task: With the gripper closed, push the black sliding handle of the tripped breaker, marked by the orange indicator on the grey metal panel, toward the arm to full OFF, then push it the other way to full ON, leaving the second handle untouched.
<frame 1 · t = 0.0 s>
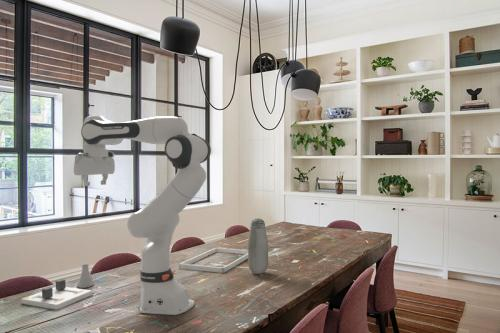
hand: (95, 185, 165), 48 cm above the table, fingers open, 8 cm apart
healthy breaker: (60, 284, 168), point 4 cm above the table, slide at 8.0 cm
tripped breaker: (47, 292, 158), point 4 cm above the table, slide at 4.0 cm
flask: (85, 286, 180), on the table
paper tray: (218, 261, 221), on the table
grey bottle: (258, 273, 194), on the table
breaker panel: (57, 299, 162), on the table
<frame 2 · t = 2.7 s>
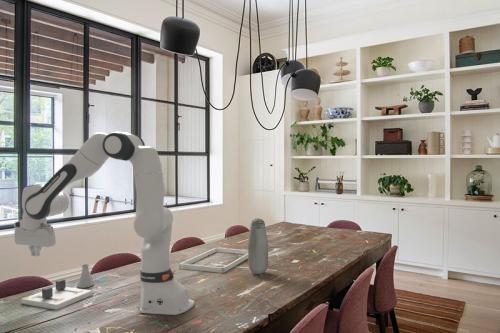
hand: (35, 256, 160), 19 cm above the table, fingers closed
nothing on the table moved.
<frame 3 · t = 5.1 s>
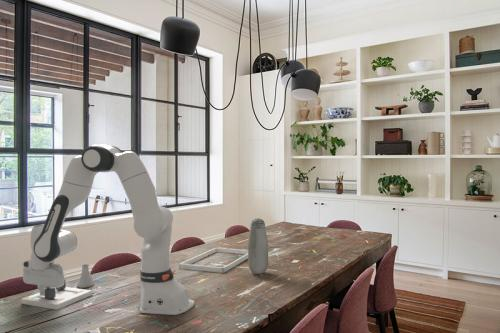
hand: (44, 295, 159), 3 cm above the table, fingers closed
tripped breaker: (50, 293, 157), point 4 cm above the table, slide at 2.3 cm, touching gripper
everything else where it was.
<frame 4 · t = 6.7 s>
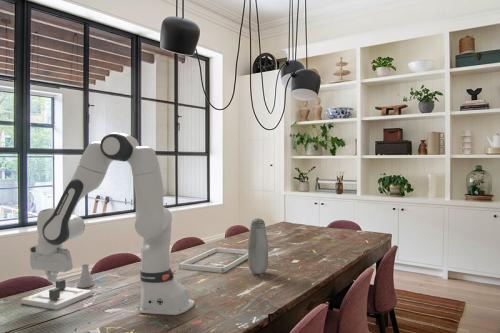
hand: (52, 281, 157), 9 cm above the table, fingers closed
tripped breaker: (54, 293, 156), point 4 cm above the table, slide at -0.1 cm
everything else where it was.
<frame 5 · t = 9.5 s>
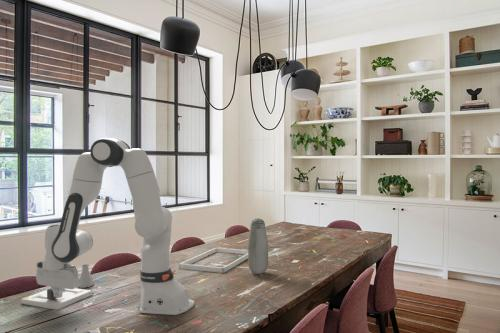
hand: (58, 297, 155), 3 cm above the table, fingers closed
tripped breaker: (52, 293, 156), point 4 cm above the table, slide at 1.1 cm, touching gripper
everything else where it was.
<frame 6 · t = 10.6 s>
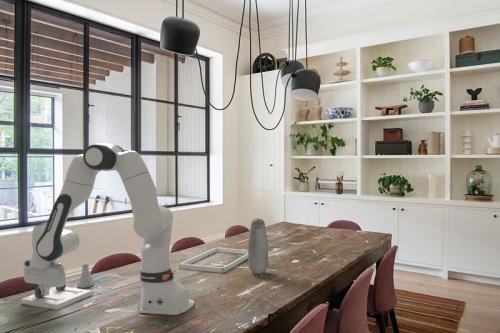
hand: (45, 295, 158), 3 cm above the table, fingers closed
tripped breaker: (40, 291, 159), point 4 cm above the table, slide at 8.2 cm, touching gripper
everything else where it was.
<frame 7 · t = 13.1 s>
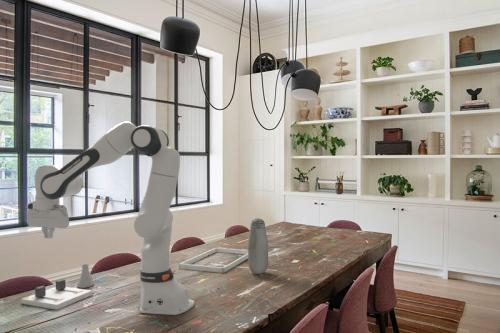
hand: (48, 238, 157), 27 cm above the table, fingers closed
tripped breaker: (40, 291, 159), point 4 cm above the table, slide at 8.1 cm
everything else where it was.
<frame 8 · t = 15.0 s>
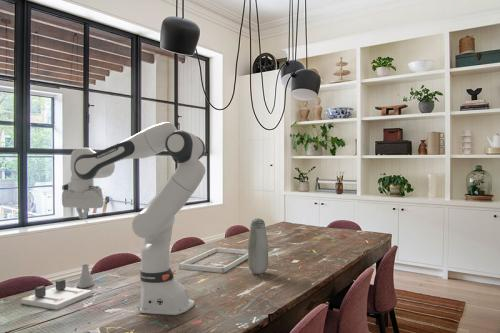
hand: (83, 218, 163), 34 cm above the table, fingers closed
nothing on the table moved.
at the end: tripped breaker slide at 8.1 cm; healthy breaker slide at 8.0 cm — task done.
